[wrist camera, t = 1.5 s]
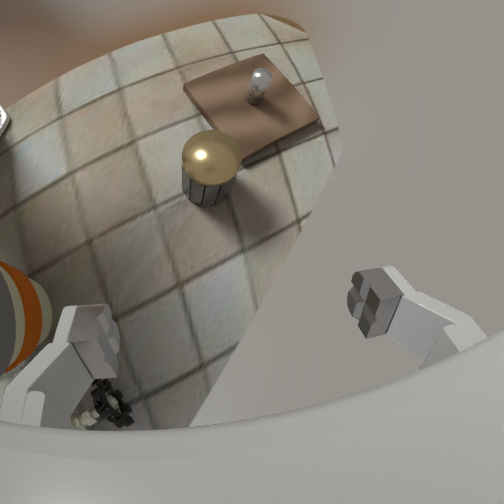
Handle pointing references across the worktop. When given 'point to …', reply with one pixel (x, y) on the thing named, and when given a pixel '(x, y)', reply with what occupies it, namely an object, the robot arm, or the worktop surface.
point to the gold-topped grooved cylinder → (209, 167)
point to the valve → (104, 408)
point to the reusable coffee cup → (21, 316)
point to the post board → (246, 115)
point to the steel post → (258, 86)
